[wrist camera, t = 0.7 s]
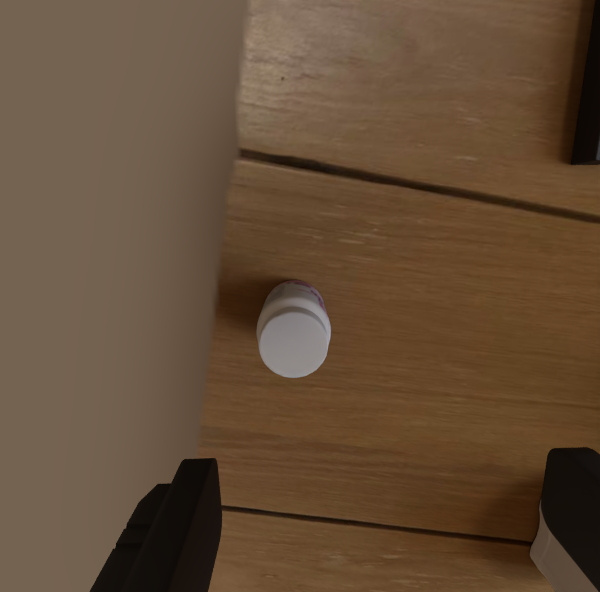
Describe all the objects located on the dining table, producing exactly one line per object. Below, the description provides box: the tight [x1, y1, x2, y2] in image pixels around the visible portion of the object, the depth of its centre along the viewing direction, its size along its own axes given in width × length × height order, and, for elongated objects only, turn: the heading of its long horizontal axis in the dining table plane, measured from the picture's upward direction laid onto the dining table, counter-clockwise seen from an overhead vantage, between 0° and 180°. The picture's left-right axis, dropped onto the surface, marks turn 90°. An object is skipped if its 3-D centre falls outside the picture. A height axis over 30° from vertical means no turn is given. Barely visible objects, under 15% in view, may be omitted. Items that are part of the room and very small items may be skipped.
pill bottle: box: [257, 280, 331, 378], centre depth 24 cm, size 5×5×8 cm
